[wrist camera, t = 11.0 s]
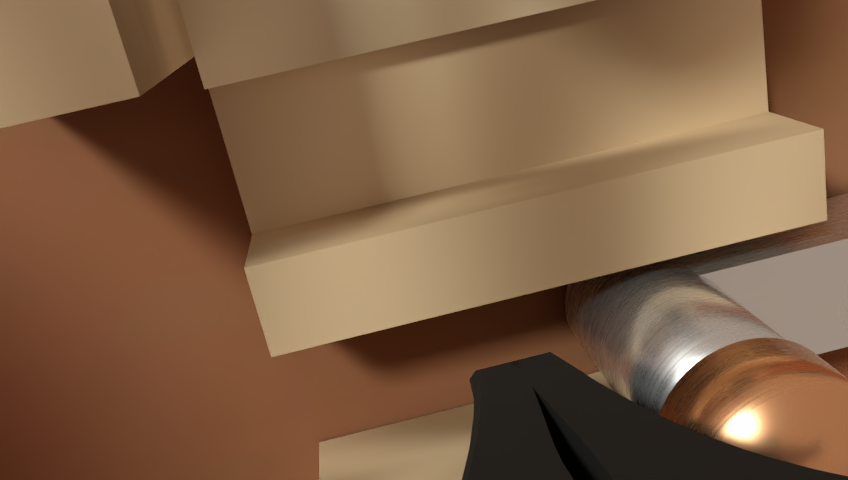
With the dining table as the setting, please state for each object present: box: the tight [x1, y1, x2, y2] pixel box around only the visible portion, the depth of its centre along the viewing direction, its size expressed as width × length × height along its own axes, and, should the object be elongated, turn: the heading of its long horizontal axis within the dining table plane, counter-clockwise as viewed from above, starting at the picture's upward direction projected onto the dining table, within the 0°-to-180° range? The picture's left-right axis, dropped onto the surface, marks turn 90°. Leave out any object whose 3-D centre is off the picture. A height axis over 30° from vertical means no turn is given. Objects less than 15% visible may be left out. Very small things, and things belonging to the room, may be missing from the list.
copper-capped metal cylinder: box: [565, 193, 848, 476], centre depth 13 cm, size 7×3×6 cm, turn 102°
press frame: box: [0, 0, 827, 480], centre depth 11 cm, size 12×18×5 cm
